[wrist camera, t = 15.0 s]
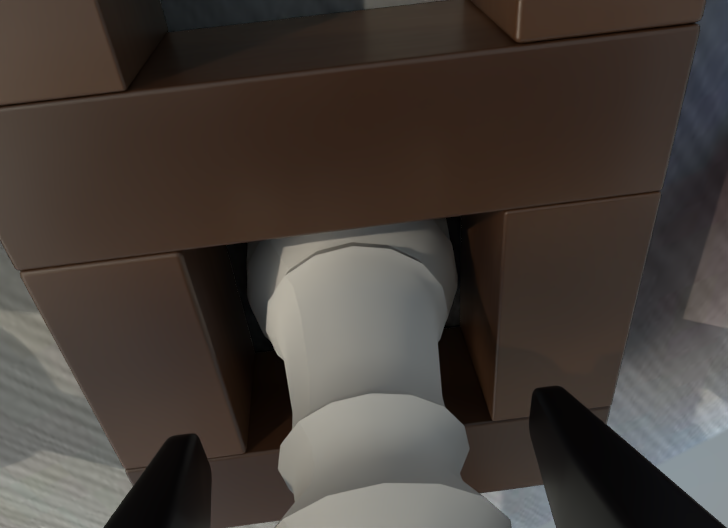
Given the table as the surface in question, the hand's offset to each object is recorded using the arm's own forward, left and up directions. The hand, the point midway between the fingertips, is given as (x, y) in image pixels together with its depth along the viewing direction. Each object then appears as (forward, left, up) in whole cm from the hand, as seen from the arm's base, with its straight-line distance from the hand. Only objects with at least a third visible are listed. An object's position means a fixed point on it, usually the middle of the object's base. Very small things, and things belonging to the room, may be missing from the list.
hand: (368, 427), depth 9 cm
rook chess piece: (0, 0, -5) cm, 5 cm away
